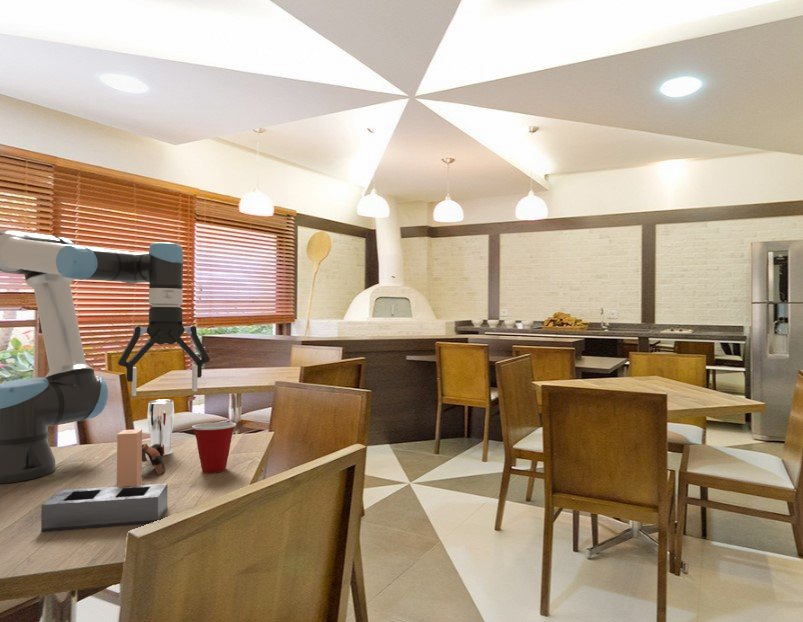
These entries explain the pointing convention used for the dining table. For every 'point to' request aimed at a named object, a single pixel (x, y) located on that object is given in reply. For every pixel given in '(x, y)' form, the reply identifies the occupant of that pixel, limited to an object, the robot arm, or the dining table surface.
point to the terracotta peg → (129, 458)
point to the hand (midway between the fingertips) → (165, 393)
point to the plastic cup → (214, 445)
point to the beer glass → (161, 423)
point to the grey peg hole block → (104, 507)
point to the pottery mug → (154, 456)
